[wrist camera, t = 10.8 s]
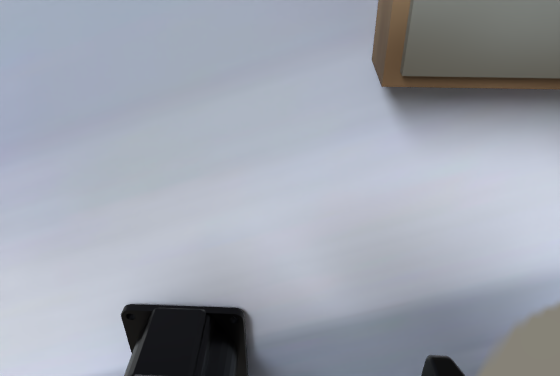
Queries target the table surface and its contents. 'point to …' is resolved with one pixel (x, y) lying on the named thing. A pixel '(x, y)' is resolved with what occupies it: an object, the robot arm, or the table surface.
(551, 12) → the wooden framed mirror
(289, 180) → the table surface
